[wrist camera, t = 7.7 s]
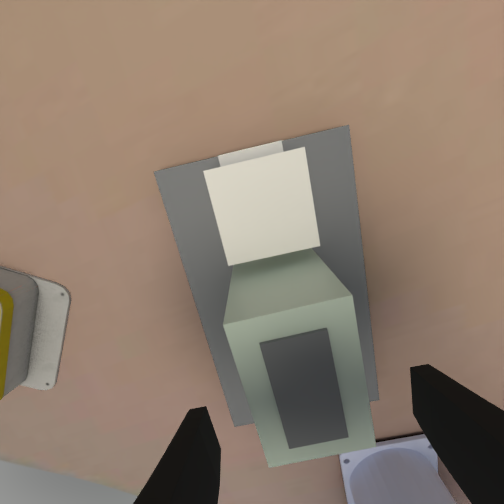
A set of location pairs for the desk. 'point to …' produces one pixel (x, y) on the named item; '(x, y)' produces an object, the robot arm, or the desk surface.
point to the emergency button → (31, 330)
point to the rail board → (215, 262)
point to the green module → (298, 357)
